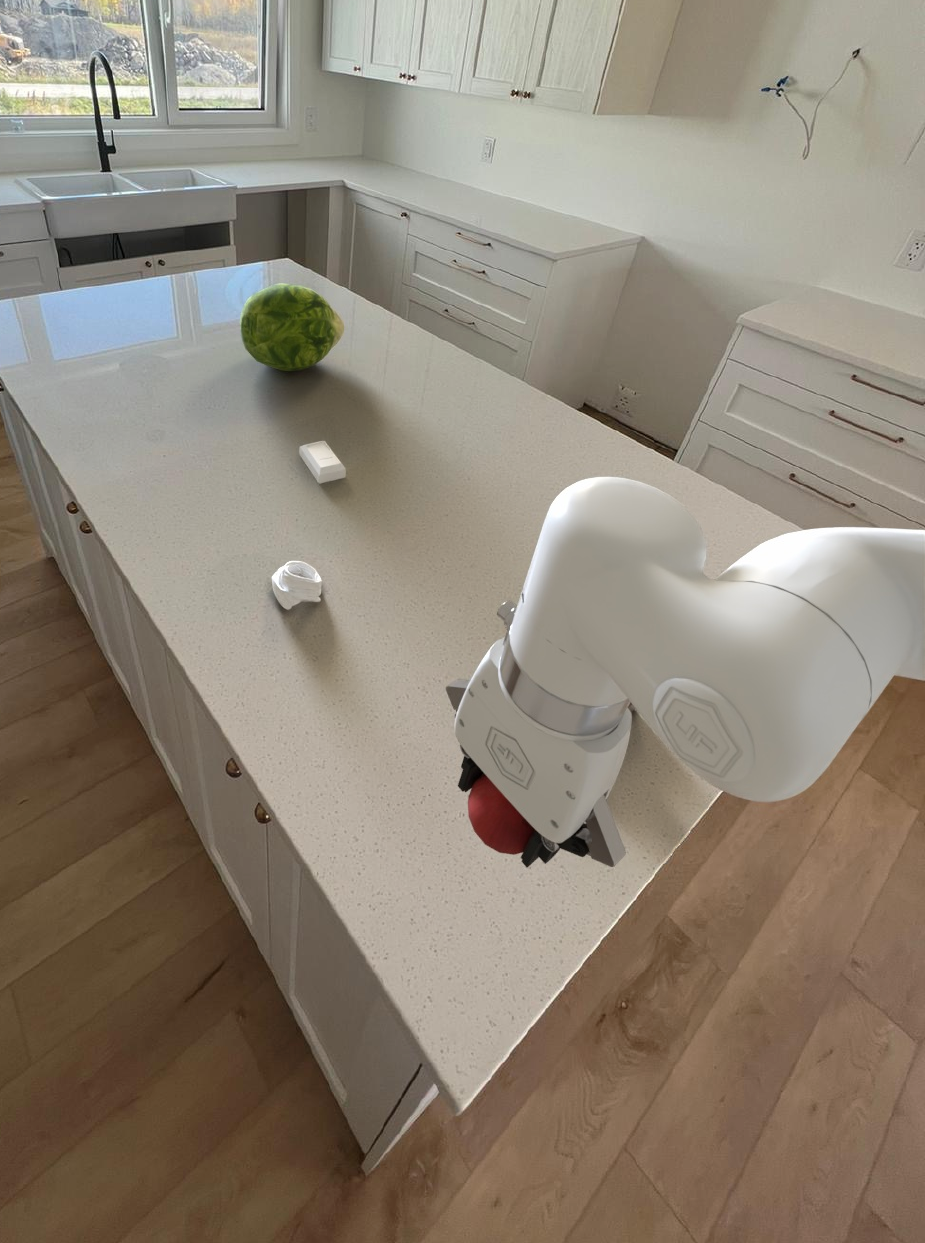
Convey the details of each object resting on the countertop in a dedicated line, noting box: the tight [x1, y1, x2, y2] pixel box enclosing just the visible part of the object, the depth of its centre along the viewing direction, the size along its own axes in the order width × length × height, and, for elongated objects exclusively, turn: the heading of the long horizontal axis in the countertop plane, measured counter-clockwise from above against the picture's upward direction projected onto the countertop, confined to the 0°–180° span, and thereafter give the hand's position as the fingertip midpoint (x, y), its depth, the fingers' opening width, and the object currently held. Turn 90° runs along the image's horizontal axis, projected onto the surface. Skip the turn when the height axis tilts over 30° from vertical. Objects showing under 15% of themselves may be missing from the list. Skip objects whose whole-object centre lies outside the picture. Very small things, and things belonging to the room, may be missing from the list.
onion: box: [467, 773, 536, 856], centre depth 48 cm, size 6×6×8 cm
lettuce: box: [239, 282, 345, 372], centre depth 137 cm, size 19×23×18 cm
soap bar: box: [299, 440, 347, 484], centre depth 111 cm, size 5×9×3 cm, turn 26°
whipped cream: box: [271, 560, 323, 611], centre depth 86 cm, size 8×7×5 cm
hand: (504, 813), depth 48 cm, fingers closed on onion, 5 cm apart
